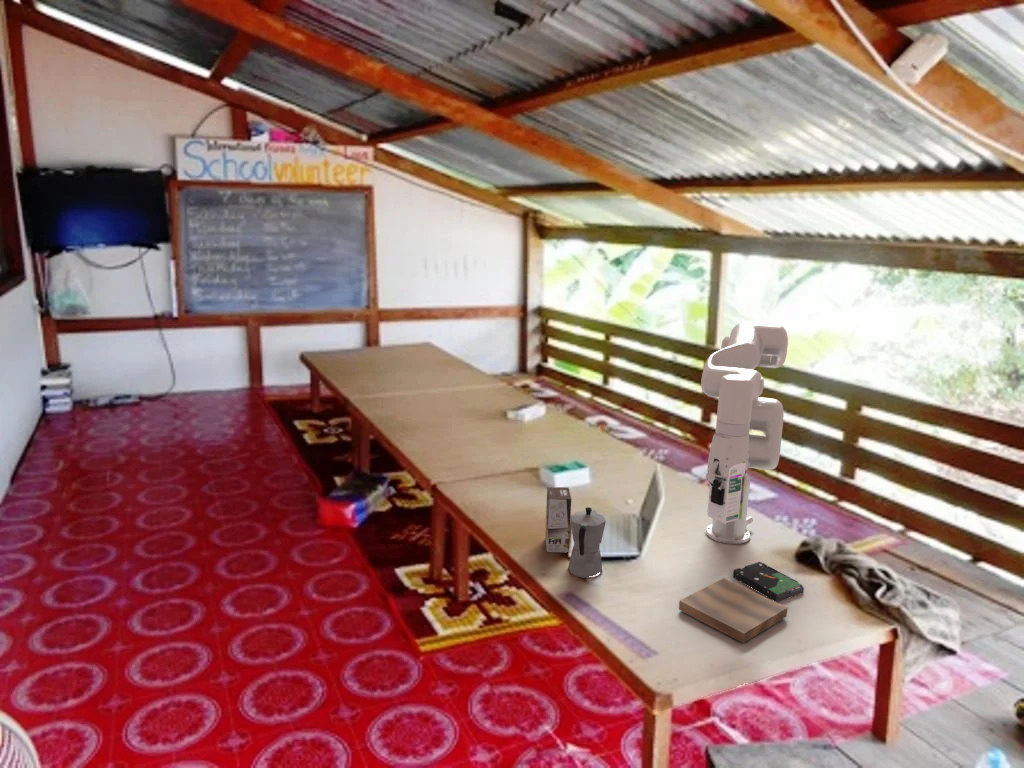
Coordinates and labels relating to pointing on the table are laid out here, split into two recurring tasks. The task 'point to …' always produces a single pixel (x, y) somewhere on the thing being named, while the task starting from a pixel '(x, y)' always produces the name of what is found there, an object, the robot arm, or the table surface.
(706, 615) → the walnut stand
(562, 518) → the coffee box
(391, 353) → the table surface
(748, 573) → the disk drive
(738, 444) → the robot arm
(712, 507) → the syrup box
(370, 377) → the table surface
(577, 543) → the coffeepot
